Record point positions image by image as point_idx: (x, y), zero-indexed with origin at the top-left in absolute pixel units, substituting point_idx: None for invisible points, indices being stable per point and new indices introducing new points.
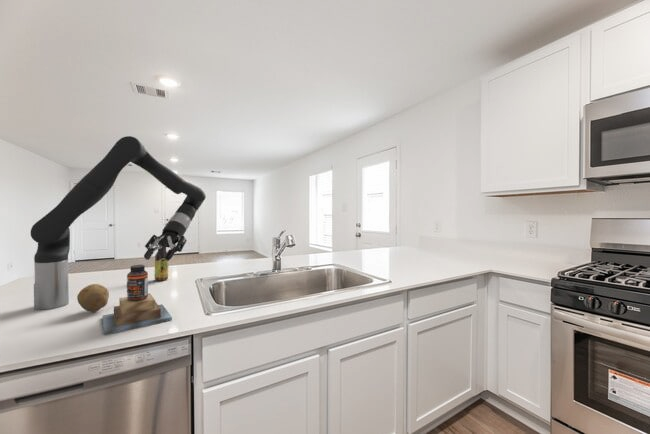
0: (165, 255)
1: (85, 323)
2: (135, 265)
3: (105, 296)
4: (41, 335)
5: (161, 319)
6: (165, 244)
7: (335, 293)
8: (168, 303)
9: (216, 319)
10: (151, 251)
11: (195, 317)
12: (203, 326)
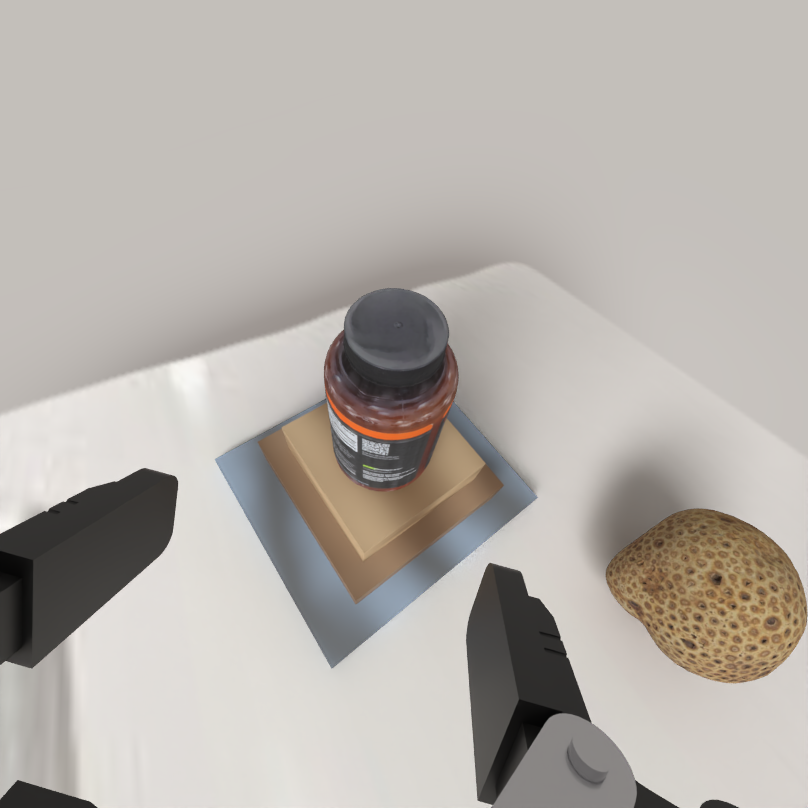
0: (149, 486)
1: (553, 454)
2: (425, 338)
3: (637, 578)
4: (598, 375)
5: (255, 437)
6: (82, 804)
7: None
8: (318, 751)
9: (5, 457)
10: (494, 719)
11: None
12: (72, 392)
